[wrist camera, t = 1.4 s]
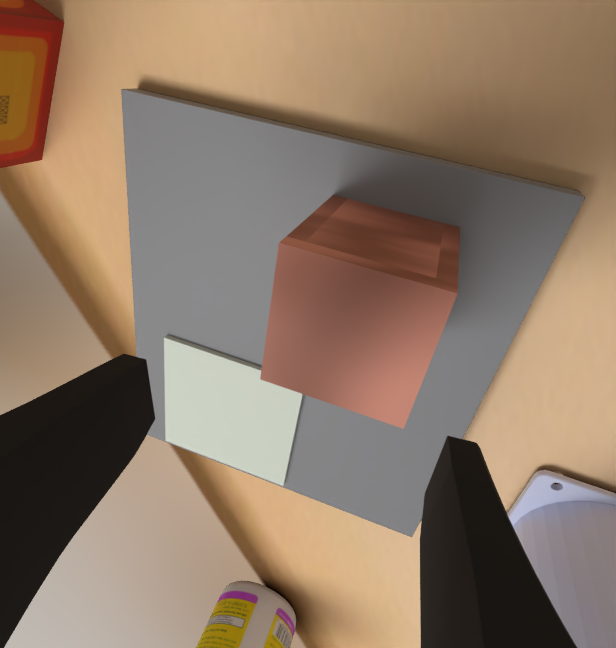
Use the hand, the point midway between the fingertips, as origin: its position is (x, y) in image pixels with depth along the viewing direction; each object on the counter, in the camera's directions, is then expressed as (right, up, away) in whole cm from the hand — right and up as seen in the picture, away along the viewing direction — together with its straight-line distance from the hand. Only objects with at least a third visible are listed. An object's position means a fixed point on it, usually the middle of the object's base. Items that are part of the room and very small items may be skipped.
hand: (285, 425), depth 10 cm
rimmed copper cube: (+3, +5, +8) cm, 10 cm away
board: (0, +1, +12) cm, 12 cm away
